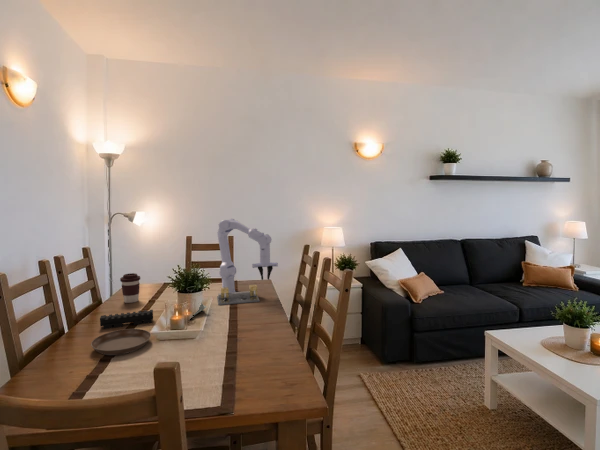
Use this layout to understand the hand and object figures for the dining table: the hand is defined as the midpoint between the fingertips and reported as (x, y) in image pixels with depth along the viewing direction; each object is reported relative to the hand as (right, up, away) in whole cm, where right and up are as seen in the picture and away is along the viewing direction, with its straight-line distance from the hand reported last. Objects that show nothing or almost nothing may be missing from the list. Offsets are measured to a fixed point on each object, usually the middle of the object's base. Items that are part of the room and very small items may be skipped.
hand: (265, 279), depth 202 cm
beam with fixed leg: (-15, -9, -5) cm, 18 cm away
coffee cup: (-73, -11, -7) cm, 75 cm away
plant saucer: (-49, -16, -66) cm, 84 cm away
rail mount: (-59, -14, -42) cm, 73 cm away
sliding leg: (-6, -9, -3) cm, 11 cm away
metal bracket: (-34, -13, -29) cm, 46 cm away
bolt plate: (-15, -11, -6) cm, 19 cm away
